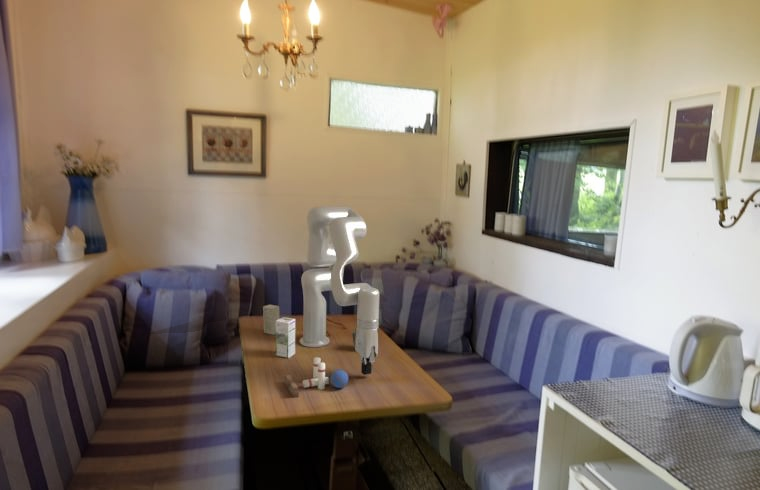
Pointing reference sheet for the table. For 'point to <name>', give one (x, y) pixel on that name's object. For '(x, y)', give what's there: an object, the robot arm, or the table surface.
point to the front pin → (313, 382)
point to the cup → (354, 335)
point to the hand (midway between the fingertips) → (366, 373)
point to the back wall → (291, 385)
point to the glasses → (335, 323)
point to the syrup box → (285, 337)
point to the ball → (339, 378)
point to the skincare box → (270, 318)
